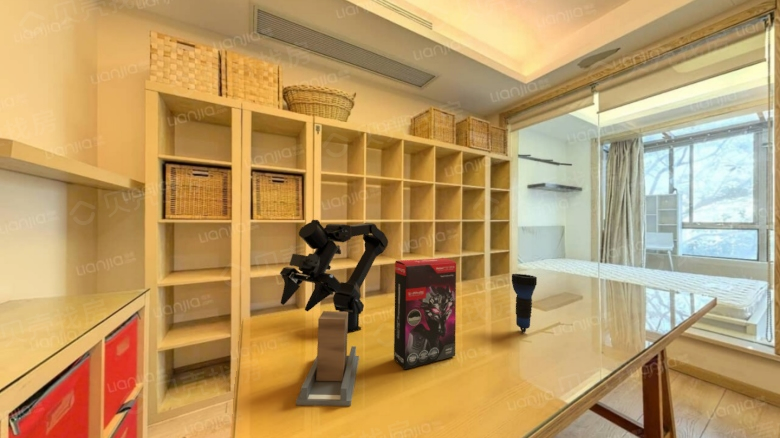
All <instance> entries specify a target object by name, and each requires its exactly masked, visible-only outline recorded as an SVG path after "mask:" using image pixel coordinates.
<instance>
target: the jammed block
mask: <svg viewBox="0 0 780 438" xmlns="http://www.w3.org/2000/svg"><path fill="white" fill-rule="evenodd" d="M317 321H318V324H317V345H316V346H317V348H316V350H317V351H316V357H317V374H316V381H343V378H344V374H345V370H346V359H347V356H348V355H347V353H348V333H347V330H348V312H340V311H338V310H335V311H332V310H323V311H322V313H321V314H320V316H319V318H318V320H317Z"/></svg>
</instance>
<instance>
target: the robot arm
mask: <svg viewBox="0 0 780 438" xmlns="http://www.w3.org/2000/svg"><path fill="white" fill-rule="evenodd" d="M298 236H299V237H300V238H301V239H302V241H304V242H305V243H306V245H308V247H309V248H310V249H312V250H314V251H313V253H308V254H307V255H303V254H297V253H292V254H291V258H290V261H289V266H285V267H283V268H282V269H281V270H280V273H279V275H281V278H282V280H283V283H284V284H283V286H284V287H283V290H282V295H281V299H280V305H283V306H284V305H285V304H286V303H287V302H288V301H289V300H290V299H291V298H292V297H293V296H294V294H296V292H297V291H298V290H299V288H300V287H301V286H300V285H301V284H302V283H303V282H307V283H311V284H312V283H313V284H314V286H313V287H314V289H313V291H312V293H311V295H310V297H309V299H308V301H307V303H306V305H305V307H304V311H306V312H309V311H310V310H311V309H313V308H314V307H315V306H316V305H318V304H319V303H320V302H322V301H323V300H325V299H326V298H327V297H329V296H330V295H333V298H332V302H333V304H334V305H333V306H334V309H335V311H340V312H348V330H347V334H349V333H353V332H356V331H359V330H362V327H361V326H359V325H360V324H359V322H360V314H362V312H363V311H364V306H365V304H364V303H363V302H362V301H361V297H362V294H361V287H362V285H363V283H364V281H365V279H366V277H367V276H368V273H369V271H370V269H371V267H372V266H373V263H374V262H375V260H376V258H377V257H378V256H379V255H381V254H383V253H384V251H385V250H386V248H387V247H388V244H389V239H388V237H387V236H386V234H385V232H383V231H382V230H381V229H379V228H378V227H377V225H376V224H375V223H373V222H363V223H357V224H343V223H327V224H326V225H325V227H324V226H323V225H322V224H321V221H319V219H312V220H311V221H310V222H308V223H306V224H304V225H303V226H302V227H301V228H300V229H299V231H298ZM358 236H362V239H363V241H364V252H363V254H362V256H361V257H360V259H359V261H358V262H357V264H356V266H355V268H354V269H353V271H352V272H351V273H352V274H351V275H350V277H349V278H348V280H347V281H346V282H344V281H343V282H342V281H339V279H337V278H336V277H335V276H334V275H333V274H332V273H327V272H326V271H329V270H331V268H332V266H331V265H330V264H331V263H332V260H334V256H335V255H341V254H342V250H341V248H340V247H341V246H340V245H337V244H336V243H345V242H348V241H350V240H351V238H354V237H358ZM290 266H292V267H290ZM295 267H297V268H298V269H296V268H295ZM301 272H302V273H301Z"/></svg>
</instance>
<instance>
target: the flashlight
mask: <svg viewBox="0 0 780 438" xmlns="http://www.w3.org/2000/svg"><path fill="white" fill-rule="evenodd" d="M537 279H538V278H537V276H536V275H535V276H534V275H531V274H527V273H524V274H523V273H512V274H511V285H512V288H513V291H514V293H515V294H516V297H515V316H516V318H515V321H516V325H517V326H516V327H519V328H520V331H521V333H523V332H524V333H526V331H527V329H529V328H530V327H531V317H532V311H533V310H532V309H533V306H532V305H533V294H534V291H535V289H536V286H537V284H538V282H537ZM524 333H523V334H524Z"/></svg>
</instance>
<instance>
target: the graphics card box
mask: <svg viewBox="0 0 780 438" xmlns="http://www.w3.org/2000/svg"><path fill="white" fill-rule="evenodd" d="M456 292H457V262H456V261H455V260H452V259H449V258H444V257H441V258H428V259H426V258H425V259H424V258H423V259H405V260H395V261H394V320H393V321H394V329H393V330H394V332H393V333H394V334H393V336H394V337H393V358H394V359H393V360H394V361H396V362H397V363H398V364H399V365H400V366H401V367H402V369H404V370H409V369H413V368H416V367H420V366H422V365H423V366H424V365H426V364H430V363H434V362H438V361H442V360H444V359H445V360H446V359H448V358H452V357H455V356H456V331H457V330H456V326H457V325H456V324H457V323H456V320H457V319H456V318H457V317H456V316H457V315H456V313H457V309H456V307H457V306H456V305H457V299H456V298H457V296H456V294H457V293H456Z"/></svg>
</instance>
